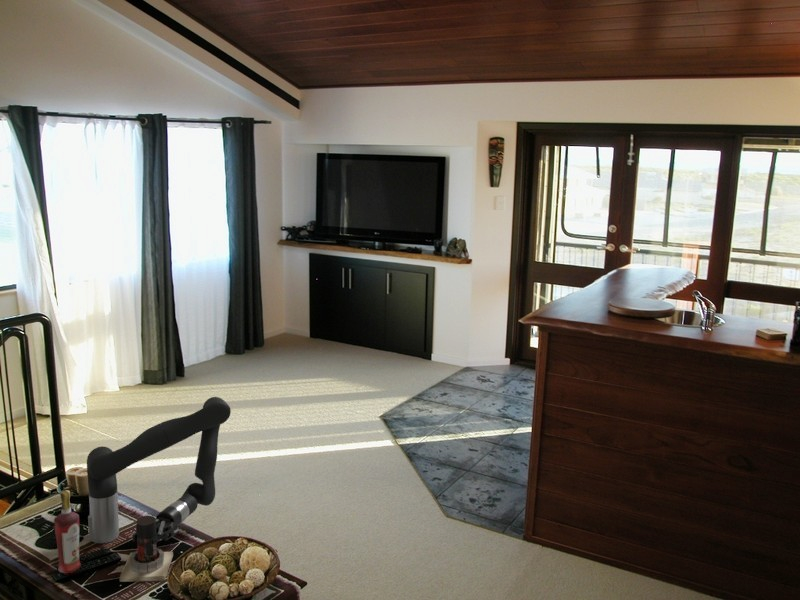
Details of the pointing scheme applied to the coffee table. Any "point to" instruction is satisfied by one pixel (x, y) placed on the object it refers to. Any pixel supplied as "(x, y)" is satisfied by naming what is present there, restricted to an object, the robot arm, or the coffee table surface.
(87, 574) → the coffee table surface
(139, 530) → the deodorant
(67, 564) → the liquor
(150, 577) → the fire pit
